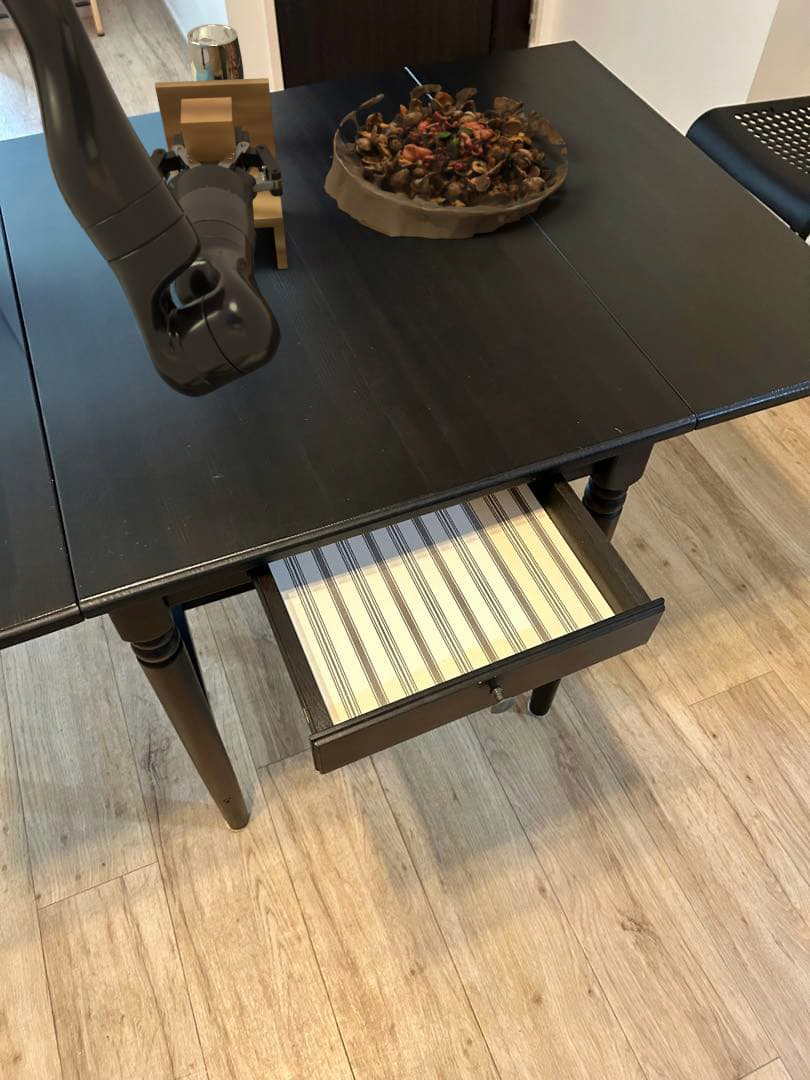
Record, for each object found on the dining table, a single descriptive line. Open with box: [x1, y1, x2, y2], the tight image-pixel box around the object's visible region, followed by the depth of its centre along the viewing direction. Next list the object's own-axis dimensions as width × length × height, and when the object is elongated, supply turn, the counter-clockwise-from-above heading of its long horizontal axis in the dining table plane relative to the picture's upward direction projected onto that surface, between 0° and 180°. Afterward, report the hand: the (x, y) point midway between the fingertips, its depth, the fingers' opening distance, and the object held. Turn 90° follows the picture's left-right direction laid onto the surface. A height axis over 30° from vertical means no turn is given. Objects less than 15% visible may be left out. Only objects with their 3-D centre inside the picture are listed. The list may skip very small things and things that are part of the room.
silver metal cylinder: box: [186, 23, 245, 81], centre depth 114 cm, size 7×7×15 cm
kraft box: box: [181, 97, 236, 162], centre depth 86 cm, size 5×5×10 cm
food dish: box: [323, 84, 569, 240], centre depth 115 cm, size 35×33×8 cm
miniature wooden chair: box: [154, 77, 289, 270], centre depth 99 cm, size 13×13×17 cm
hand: (212, 136), depth 87 cm, fingers closed on kraft box, 5 cm apart
